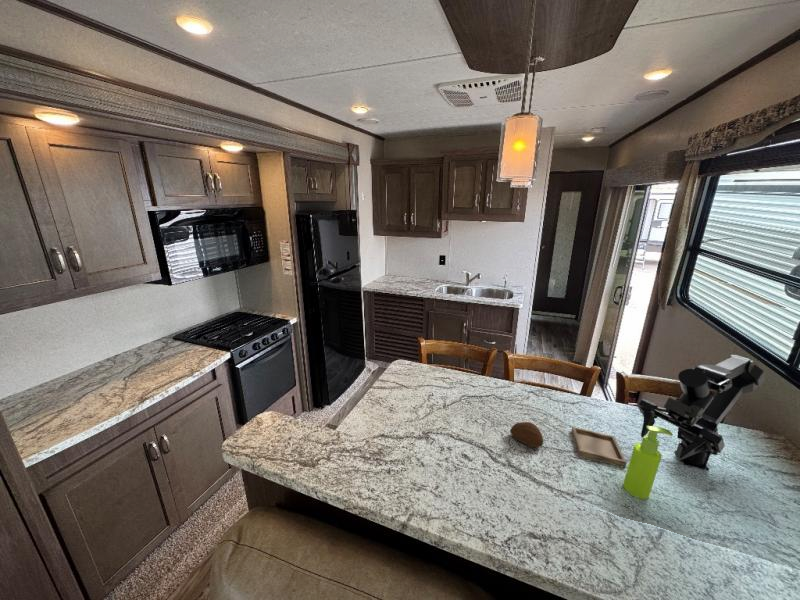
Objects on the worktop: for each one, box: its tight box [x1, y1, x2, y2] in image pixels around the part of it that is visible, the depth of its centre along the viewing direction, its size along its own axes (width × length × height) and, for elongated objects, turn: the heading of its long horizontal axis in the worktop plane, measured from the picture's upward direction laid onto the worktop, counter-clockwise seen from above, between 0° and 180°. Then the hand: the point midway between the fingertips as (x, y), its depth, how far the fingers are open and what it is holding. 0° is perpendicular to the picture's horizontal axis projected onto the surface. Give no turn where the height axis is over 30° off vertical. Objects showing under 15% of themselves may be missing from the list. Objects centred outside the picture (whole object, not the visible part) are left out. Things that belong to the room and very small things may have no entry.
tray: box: [571, 426, 628, 468], centre depth 103 cm, size 13×13×2 cm
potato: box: [509, 421, 544, 448], centre depth 104 cm, size 7×10×7 cm
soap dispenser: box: [622, 425, 674, 500], centre depth 85 cm, size 6×7×20 cm
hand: (660, 447), depth 86 cm, fingers open, 9 cm apart
